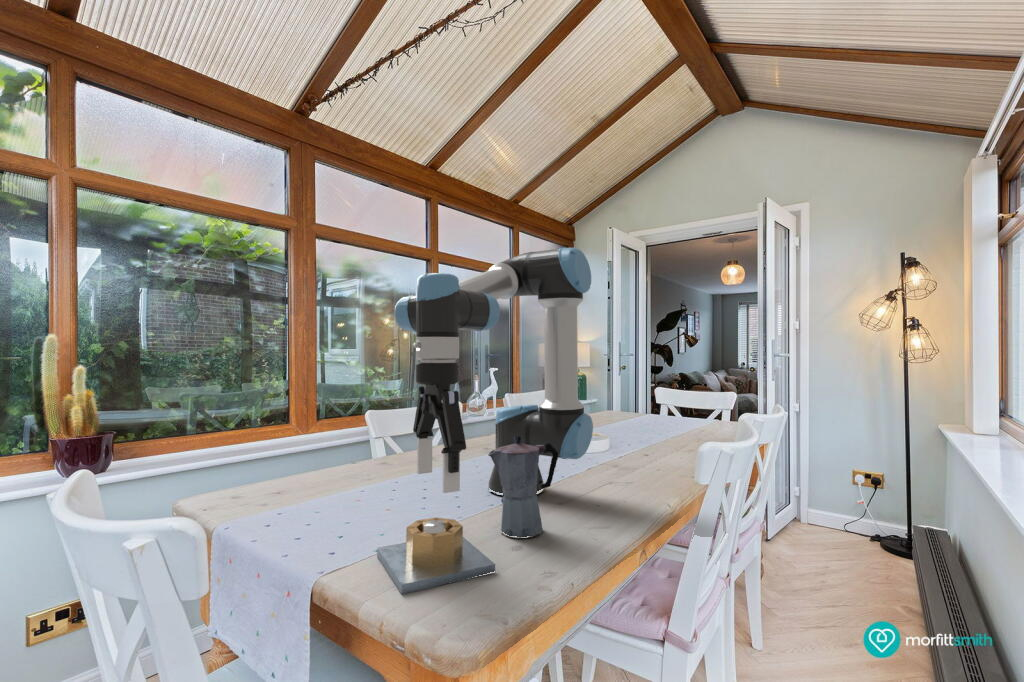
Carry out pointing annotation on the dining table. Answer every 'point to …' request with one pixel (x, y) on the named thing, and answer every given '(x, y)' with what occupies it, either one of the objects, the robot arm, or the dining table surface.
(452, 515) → the dining table surface
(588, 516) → the dining table surface
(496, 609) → the dining table surface
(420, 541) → the ring
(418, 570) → the peg base plate
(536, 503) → the moka pot
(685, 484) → the dining table surface
